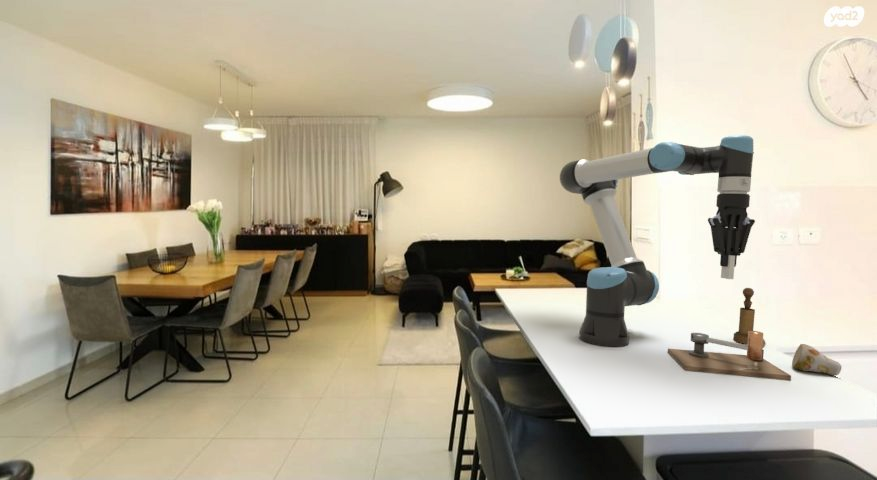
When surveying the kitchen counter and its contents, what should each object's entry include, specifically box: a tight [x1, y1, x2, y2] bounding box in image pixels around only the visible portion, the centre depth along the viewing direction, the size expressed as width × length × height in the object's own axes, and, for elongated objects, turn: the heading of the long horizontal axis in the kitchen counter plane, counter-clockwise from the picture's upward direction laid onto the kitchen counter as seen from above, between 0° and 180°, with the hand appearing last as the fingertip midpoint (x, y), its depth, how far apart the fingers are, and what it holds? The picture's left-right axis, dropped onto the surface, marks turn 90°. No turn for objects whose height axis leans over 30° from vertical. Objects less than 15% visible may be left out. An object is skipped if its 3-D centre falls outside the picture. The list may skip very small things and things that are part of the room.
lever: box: [690, 330, 764, 360], centre depth 119 cm, size 17×4×7 cm, turn 43°
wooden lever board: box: [667, 338, 792, 381], centre depth 119 cm, size 24×16×8 cm, turn 77°
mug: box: [791, 343, 843, 377], centre depth 116 cm, size 8×10×10 cm
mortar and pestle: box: [732, 287, 756, 345], centre depth 143 cm, size 7×6×18 cm
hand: (727, 278), depth 121 cm, fingers closed
